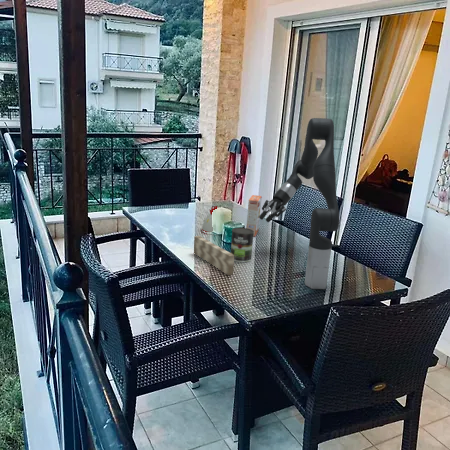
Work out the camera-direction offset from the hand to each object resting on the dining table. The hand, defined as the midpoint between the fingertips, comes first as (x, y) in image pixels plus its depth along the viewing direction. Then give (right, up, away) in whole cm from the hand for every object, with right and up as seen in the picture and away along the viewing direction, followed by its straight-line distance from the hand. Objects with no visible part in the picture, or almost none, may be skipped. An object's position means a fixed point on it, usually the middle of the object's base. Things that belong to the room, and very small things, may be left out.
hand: (263, 219), depth 220 cm
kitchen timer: (-25, -7, +39) cm, 47 cm away
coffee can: (-11, -19, -2) cm, 22 cm away
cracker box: (-3, -7, +40) cm, 41 cm away
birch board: (-25, -20, -11) cm, 34 cm away
